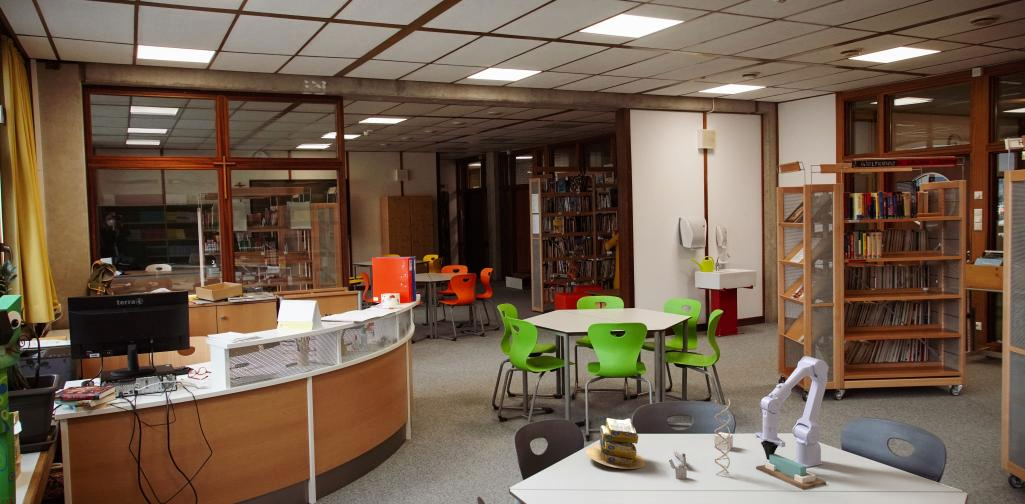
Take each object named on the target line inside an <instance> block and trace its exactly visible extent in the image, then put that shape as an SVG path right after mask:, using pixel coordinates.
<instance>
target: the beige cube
mask: <svg viewBox="0 0 1025 504" xmlns="http://www.w3.org/2000/svg"><path fill="white" fill-rule="evenodd" d="M717 433H718V434H721V436H722V435H725V436H728V434H729V433H728V432H727V433H726V432H723V431H719V432H717ZM725 436H722V437H724V438H727V437H725ZM713 437H714V445H713V446H714V449H715V444H717V443H719V442H721V441H722V440H724V439H723V438H721V437H720V436H719V435H717V434H716V433H715V434H714V436H713ZM727 441H728V442H729V444H730V450H731V449H733V448H734V434H732V433H730V436H729V438H728V439H727ZM723 443H727V442H726V441H724V442H722V443H720V444H721V445H717V446H716V447H717V448H718V449H721V451H723V450H726V451H728V449H729V446H728V444H723ZM732 447H733V448H732ZM718 449H717V450H718ZM726 451H725V452H726Z"/></svg>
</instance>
